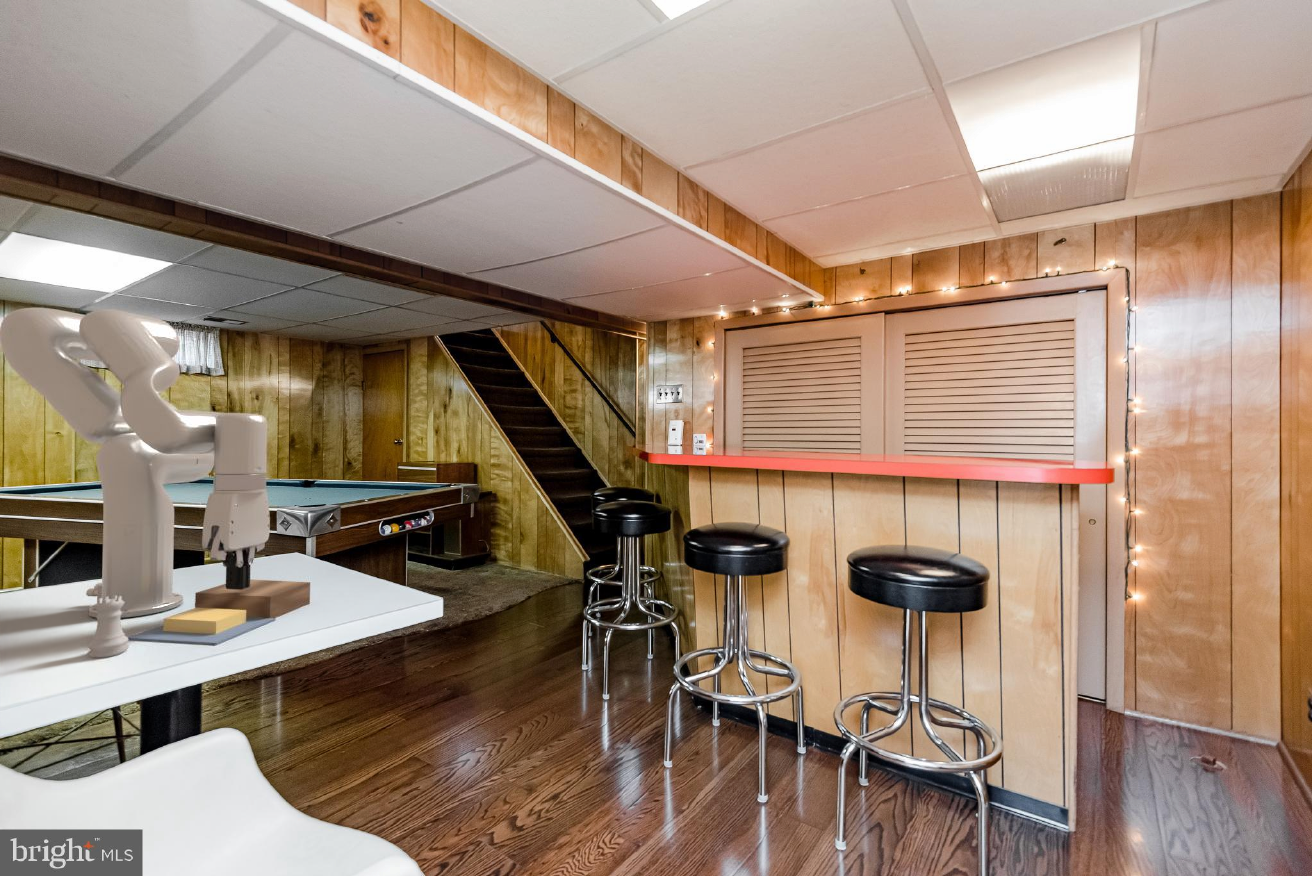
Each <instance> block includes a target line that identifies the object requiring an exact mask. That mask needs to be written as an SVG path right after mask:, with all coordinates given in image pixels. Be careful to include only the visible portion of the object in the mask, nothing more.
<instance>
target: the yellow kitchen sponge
mask: <svg viewBox="0 0 1312 876" xmlns="http://www.w3.org/2000/svg"><path fill="white" fill-rule="evenodd" d="M245 622H246V610H233V609H214V608H195V607H193V608H191V609H189V610H186V611H182V612H179V613H176V614H173V615H170V616H167V617H164V618H163V624H162V625H163V631H171V632H189V633H207V634H217V633H220V632H222V631H225V630H227V629H230V628H232V627H235V626H237V625H240V624H242V623H245Z"/></svg>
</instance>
